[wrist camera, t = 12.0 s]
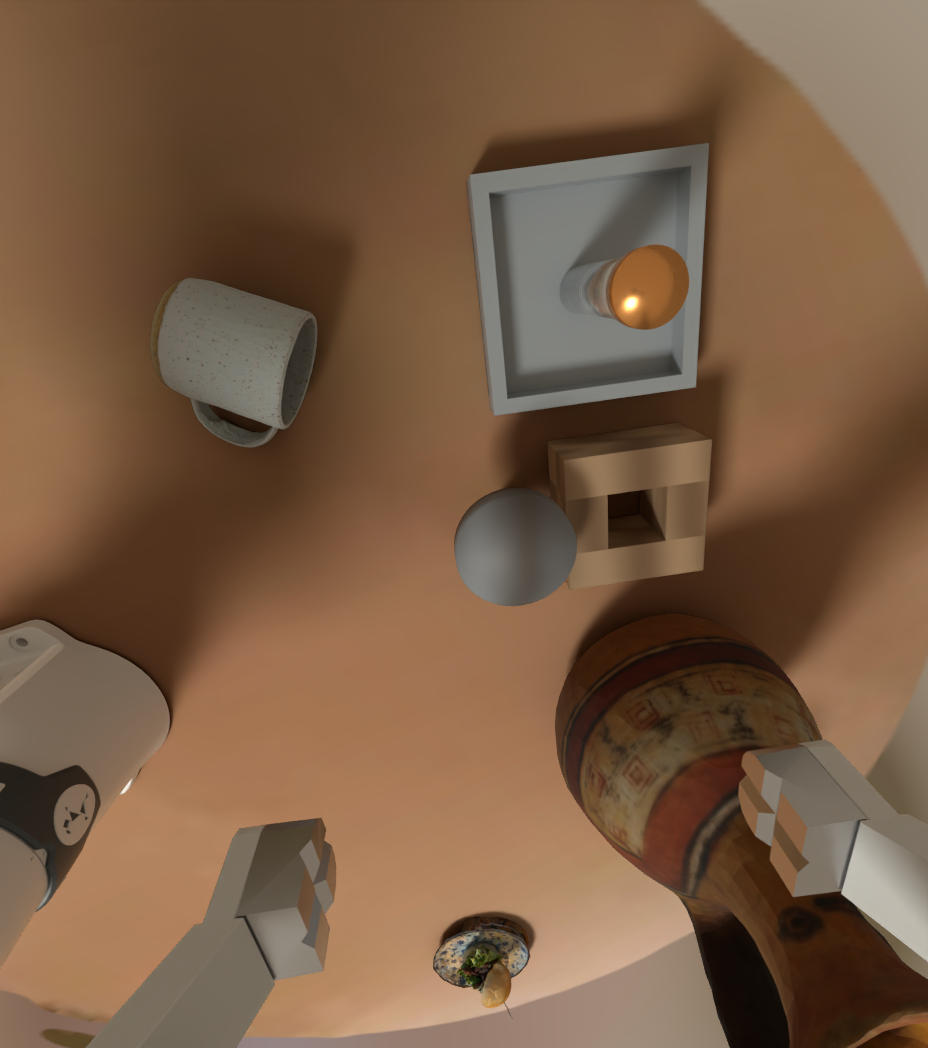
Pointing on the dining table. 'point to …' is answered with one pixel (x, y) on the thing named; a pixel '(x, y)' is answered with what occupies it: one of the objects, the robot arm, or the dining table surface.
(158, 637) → the dining table surface
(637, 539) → the block
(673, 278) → the pin
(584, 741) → the ceramic pitcher
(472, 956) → the burger
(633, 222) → the tray
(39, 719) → the robot arm
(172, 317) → the ceramic mug
